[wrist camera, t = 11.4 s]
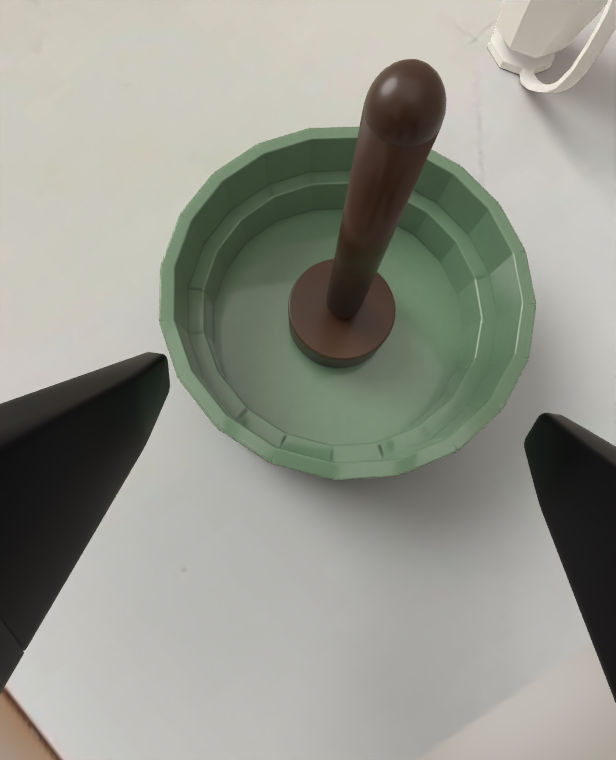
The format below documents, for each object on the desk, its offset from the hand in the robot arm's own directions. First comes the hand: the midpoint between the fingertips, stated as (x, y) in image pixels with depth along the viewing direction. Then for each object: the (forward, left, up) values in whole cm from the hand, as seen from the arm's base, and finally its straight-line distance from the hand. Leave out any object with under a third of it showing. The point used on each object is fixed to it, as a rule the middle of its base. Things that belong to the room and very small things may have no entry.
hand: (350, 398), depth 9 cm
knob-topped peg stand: (+5, -3, -9) cm, 10 cm away
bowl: (+5, -3, -10) cm, 11 cm away
